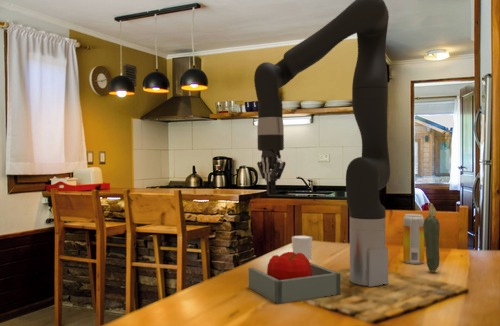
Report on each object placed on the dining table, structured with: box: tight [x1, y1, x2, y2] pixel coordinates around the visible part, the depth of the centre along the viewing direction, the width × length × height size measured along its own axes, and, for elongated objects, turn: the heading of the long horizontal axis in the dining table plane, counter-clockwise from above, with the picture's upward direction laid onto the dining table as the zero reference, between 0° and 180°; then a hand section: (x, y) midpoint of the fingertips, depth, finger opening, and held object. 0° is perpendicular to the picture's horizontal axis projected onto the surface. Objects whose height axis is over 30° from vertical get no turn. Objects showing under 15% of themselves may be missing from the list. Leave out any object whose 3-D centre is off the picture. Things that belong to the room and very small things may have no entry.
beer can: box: [402, 213, 425, 265], centre depth 149 cm, size 6×6×15 cm
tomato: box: [266, 251, 312, 280], centre depth 119 cm, size 11×12×9 cm
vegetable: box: [423, 202, 441, 273], centre depth 136 cm, size 4×4×20 cm
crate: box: [248, 262, 341, 305], centre depth 118 cm, size 15×17×5 cm
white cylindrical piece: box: [291, 234, 313, 260], centre depth 156 cm, size 7×7×7 cm
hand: (271, 194), depth 136 cm, fingers closed
